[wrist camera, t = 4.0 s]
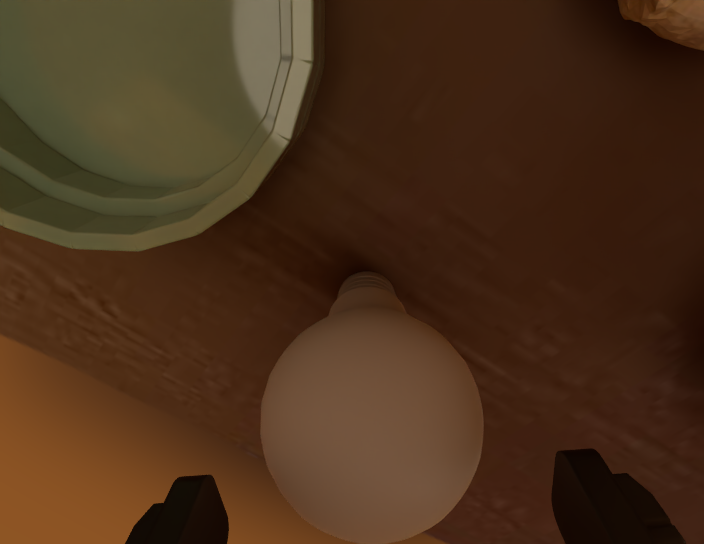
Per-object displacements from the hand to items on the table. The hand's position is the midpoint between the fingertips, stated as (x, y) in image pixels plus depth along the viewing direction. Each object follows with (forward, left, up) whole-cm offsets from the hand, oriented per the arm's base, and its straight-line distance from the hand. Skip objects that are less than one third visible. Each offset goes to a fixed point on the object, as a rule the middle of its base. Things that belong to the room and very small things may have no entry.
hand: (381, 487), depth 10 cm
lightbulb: (0, 0, -10) cm, 10 cm away
